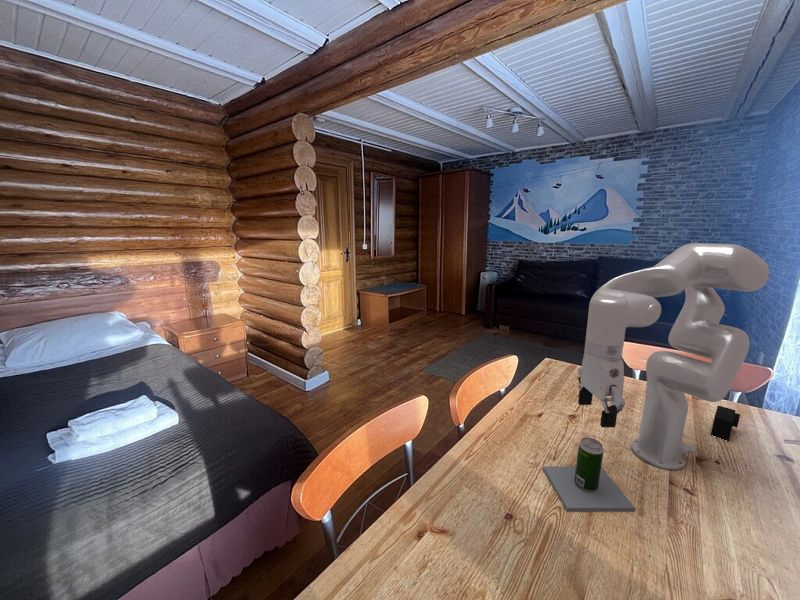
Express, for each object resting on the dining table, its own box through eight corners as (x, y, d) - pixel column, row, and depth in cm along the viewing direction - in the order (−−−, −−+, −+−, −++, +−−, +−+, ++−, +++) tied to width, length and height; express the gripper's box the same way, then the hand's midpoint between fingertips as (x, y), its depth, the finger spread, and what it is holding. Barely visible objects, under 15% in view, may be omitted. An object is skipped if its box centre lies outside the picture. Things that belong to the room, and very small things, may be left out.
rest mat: (600, 469, 92) (600, 466, 91) (635, 511, 78) (635, 508, 78) (542, 469, 92) (542, 466, 91) (566, 511, 78) (567, 507, 78)
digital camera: (734, 444, 102) (738, 423, 101) (710, 436, 106) (714, 416, 105) (736, 430, 109) (740, 411, 108) (714, 423, 113) (718, 404, 112)
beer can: (591, 496, 81) (597, 453, 78) (569, 482, 85) (575, 441, 83) (602, 487, 84) (608, 445, 81) (580, 474, 88) (586, 434, 86)
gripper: (646, 363, 68) (635, 436, 72) (598, 336, 85) (591, 397, 89) (609, 363, 69) (600, 437, 72) (568, 337, 85) (563, 397, 89)
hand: (595, 414), depth 81 cm, fingers open, 9 cm apart
